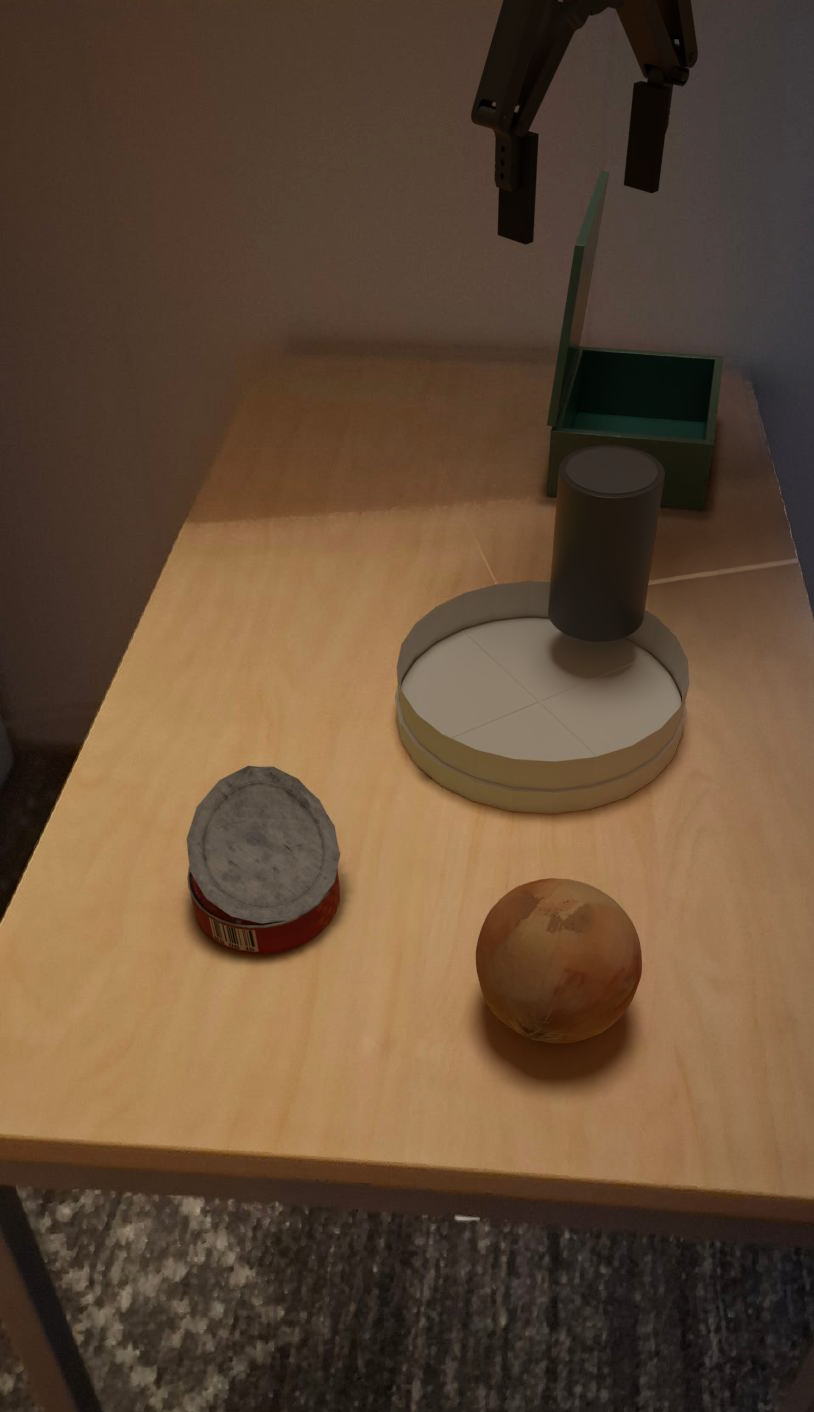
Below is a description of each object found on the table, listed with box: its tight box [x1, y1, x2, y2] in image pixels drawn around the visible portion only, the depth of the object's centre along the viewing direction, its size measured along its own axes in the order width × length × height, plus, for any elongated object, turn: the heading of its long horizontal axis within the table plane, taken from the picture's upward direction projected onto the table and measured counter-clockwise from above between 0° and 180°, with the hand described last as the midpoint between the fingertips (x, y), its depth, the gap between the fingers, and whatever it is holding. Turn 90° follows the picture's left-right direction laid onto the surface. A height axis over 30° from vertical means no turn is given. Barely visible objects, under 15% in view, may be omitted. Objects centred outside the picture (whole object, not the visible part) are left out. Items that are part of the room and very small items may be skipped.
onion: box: [475, 877, 643, 1044], centre depth 68 cm, size 10×10×10 cm
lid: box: [546, 170, 610, 427], centre depth 106 cm, size 15×18×1 cm
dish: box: [394, 580, 690, 815], centre depth 89 cm, size 22×22×5 cm
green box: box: [545, 345, 724, 512], centre depth 113 cm, size 15×18×7 cm
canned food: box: [186, 765, 341, 955], centre depth 76 cm, size 11×10×10 cm
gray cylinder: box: [548, 445, 665, 642], centre depth 86 cm, size 7×7×12 cm
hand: (580, 213), depth 84 cm, fingers open, 13 cm apart
